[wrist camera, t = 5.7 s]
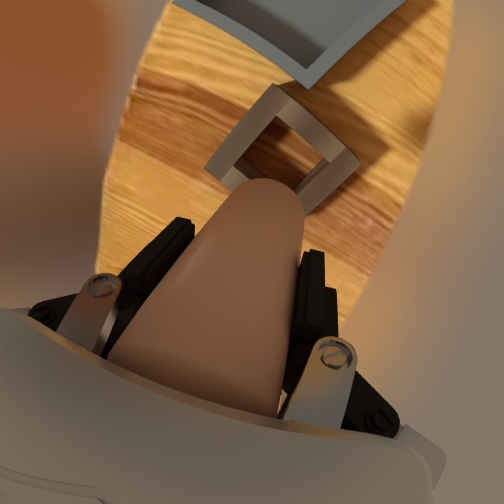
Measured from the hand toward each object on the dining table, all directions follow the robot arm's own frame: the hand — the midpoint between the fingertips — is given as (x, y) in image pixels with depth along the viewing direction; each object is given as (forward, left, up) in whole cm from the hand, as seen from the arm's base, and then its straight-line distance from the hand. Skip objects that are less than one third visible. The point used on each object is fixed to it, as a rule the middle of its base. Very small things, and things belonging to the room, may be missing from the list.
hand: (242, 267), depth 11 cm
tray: (+10, -14, -18) cm, 25 cm away
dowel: (0, 0, -5) cm, 5 cm away
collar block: (0, 0, -18) cm, 18 cm away
